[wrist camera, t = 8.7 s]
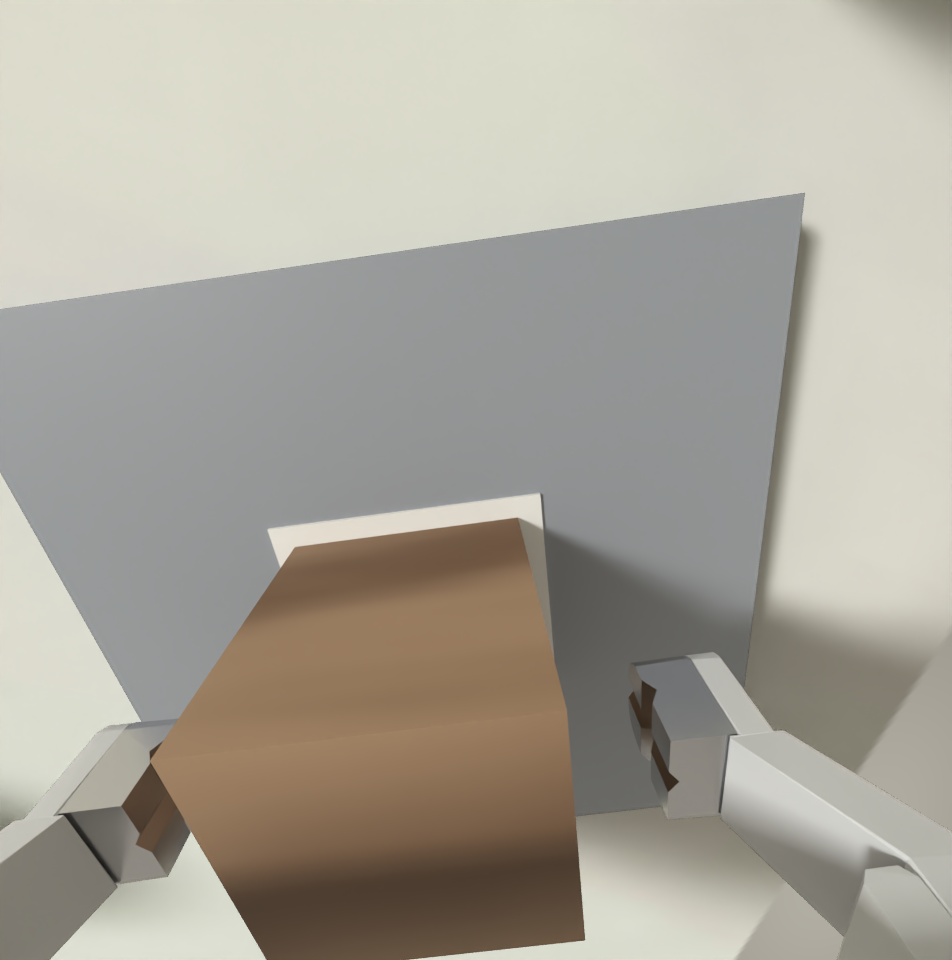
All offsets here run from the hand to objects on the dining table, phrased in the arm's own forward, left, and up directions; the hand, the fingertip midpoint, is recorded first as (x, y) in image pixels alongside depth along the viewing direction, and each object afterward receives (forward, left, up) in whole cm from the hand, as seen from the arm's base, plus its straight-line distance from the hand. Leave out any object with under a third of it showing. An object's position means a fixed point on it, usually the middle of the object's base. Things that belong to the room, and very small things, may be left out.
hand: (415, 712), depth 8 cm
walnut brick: (0, 0, -3) cm, 3 cm away
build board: (0, 0, -4) cm, 4 cm away
